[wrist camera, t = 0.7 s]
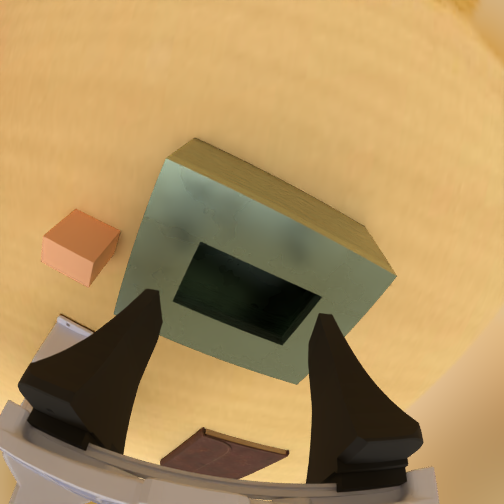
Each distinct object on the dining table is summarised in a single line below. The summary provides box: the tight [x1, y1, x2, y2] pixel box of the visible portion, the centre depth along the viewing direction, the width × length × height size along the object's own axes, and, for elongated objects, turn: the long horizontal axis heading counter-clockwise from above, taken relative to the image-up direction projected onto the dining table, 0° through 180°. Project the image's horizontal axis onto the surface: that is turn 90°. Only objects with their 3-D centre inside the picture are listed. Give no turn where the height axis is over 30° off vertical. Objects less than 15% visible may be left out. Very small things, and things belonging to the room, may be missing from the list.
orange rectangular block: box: [41, 209, 120, 288], centre depth 21 cm, size 4×2×5 cm, turn 63°
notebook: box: [160, 427, 289, 480], centre depth 43 cm, size 15×20×2 cm
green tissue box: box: [114, 138, 397, 385], centre depth 20 cm, size 14×11×7 cm
